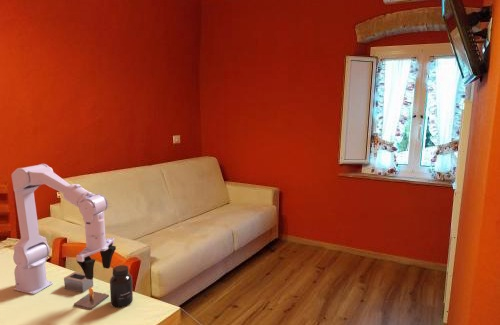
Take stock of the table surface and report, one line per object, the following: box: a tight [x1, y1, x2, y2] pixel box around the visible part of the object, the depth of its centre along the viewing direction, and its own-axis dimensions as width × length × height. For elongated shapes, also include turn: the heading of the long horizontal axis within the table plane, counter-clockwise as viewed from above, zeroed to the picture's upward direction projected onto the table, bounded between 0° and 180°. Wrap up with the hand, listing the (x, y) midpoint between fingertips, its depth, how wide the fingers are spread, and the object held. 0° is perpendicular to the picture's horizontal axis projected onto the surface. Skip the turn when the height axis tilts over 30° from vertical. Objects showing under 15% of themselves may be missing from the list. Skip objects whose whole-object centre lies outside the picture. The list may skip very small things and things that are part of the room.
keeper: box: [73, 286, 110, 310], centre depth 114 cm, size 7×8×5 cm
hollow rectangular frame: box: [63, 271, 94, 293], centre depth 123 cm, size 8×5×4 cm, turn 72°
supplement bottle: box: [109, 264, 134, 309], centre depth 113 cm, size 7×7×12 cm
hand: (98, 273), depth 112 cm, fingers open, 7 cm apart
